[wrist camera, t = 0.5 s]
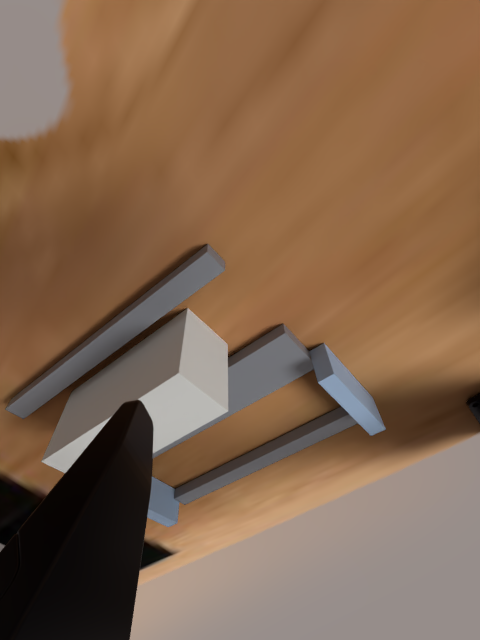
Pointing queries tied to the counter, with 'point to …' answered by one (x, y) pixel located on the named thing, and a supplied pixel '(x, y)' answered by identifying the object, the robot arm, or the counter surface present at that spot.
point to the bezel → (333, 381)
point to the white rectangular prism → (150, 389)
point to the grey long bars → (243, 374)
